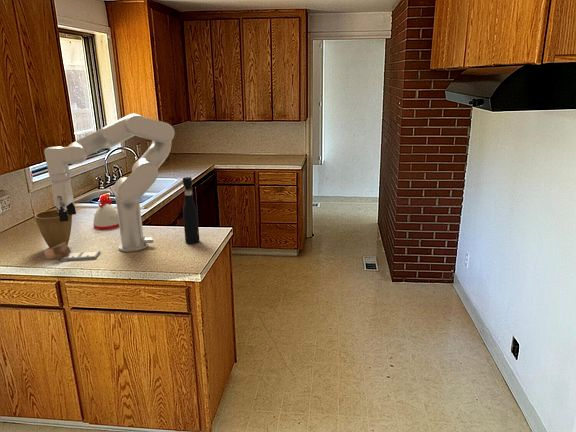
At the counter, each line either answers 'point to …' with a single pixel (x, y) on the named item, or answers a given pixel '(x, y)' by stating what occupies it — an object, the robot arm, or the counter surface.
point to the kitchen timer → (106, 216)
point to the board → (81, 256)
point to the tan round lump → (50, 254)
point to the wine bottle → (190, 214)
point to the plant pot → (53, 227)
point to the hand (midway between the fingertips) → (68, 217)
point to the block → (61, 250)
